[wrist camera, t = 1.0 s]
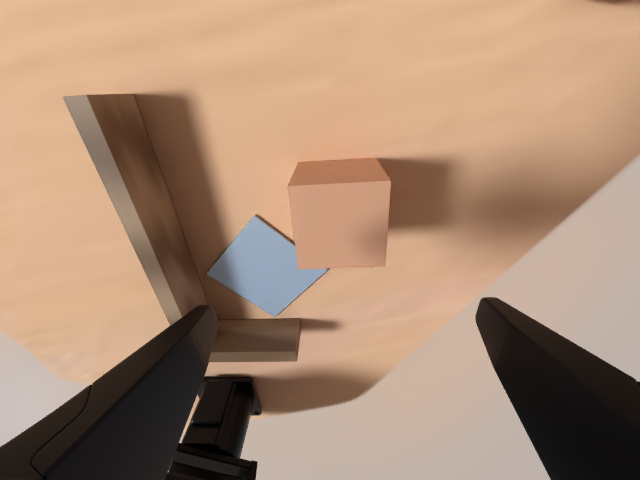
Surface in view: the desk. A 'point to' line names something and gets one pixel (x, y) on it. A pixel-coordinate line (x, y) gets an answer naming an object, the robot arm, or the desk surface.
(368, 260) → the cube
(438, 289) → the desk surface
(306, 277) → the pad
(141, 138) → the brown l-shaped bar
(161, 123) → the desk surface
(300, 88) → the desk surface
